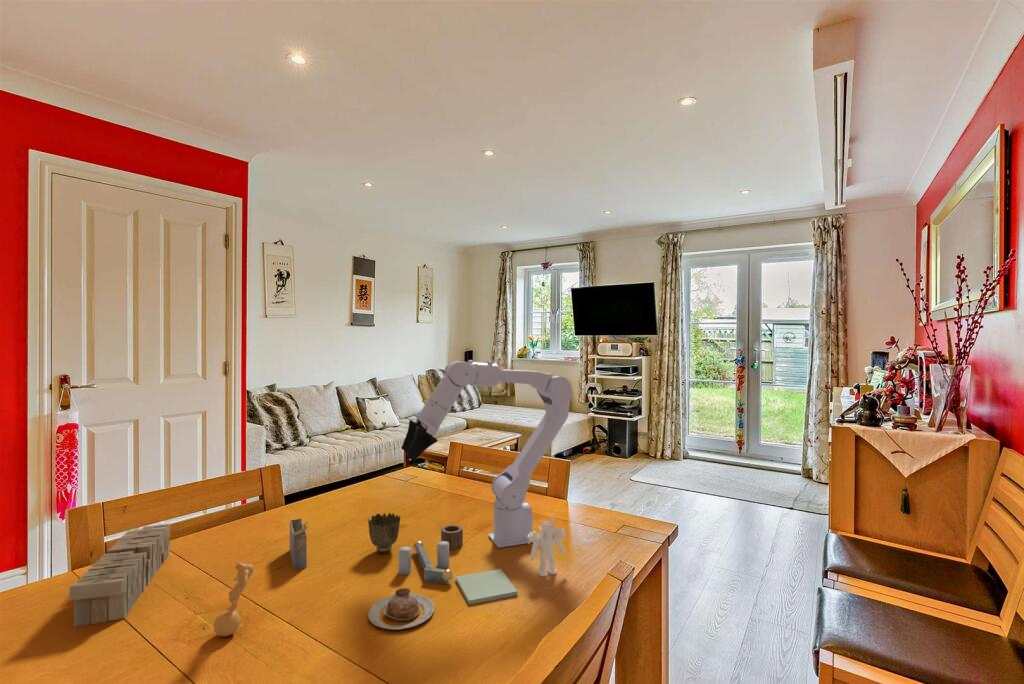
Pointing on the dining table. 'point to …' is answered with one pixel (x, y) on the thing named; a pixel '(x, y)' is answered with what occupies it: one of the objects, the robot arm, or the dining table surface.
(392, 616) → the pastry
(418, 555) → the rail
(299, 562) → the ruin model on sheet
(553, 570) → the hat wearing toy figure
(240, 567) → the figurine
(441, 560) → the post inner
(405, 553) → the grey rounded cylinder
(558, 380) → the robot arm
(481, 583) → the pad
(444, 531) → the napkin ring
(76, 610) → the block tower
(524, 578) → the dining table surface
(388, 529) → the cup
